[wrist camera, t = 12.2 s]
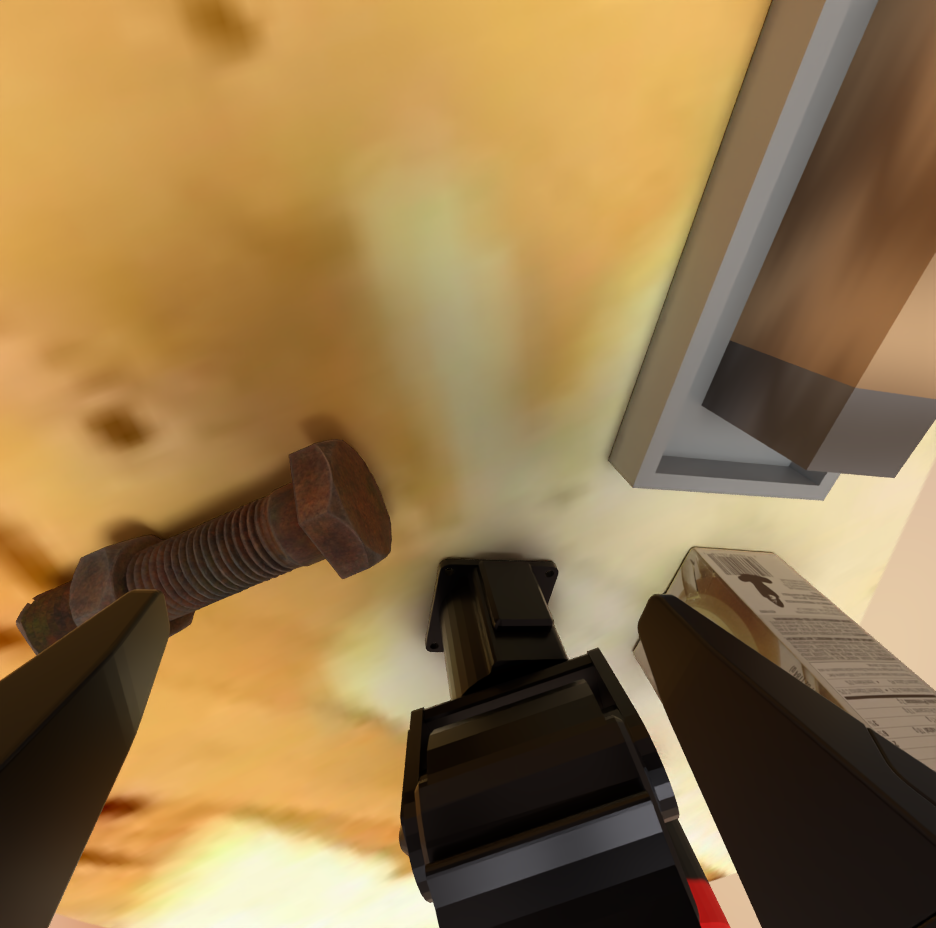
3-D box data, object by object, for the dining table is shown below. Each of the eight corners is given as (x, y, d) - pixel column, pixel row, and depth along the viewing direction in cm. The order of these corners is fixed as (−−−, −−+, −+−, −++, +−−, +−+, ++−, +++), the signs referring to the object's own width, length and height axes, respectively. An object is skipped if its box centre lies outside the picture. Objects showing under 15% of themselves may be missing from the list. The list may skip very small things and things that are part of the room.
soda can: (600, 729, 34) (695, 954, 24) (662, 749, 37) (770, 956, 27) (536, 782, 36) (597, 1009, 26) (599, 797, 40) (676, 1005, 29)
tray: (784, 475, 25) (823, 500, 22) (608, 460, 22) (632, 487, 20) (1073, -32, 15) (1184, -71, 13) (825, -149, 13) (913, -219, 11)
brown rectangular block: (880, -6, 14) (1158, -124, 9) (971, 31, 15) (1270, -59, 10) (701, 405, 21) (806, 470, 16) (772, 414, 22) (894, 477, 17)
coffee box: (709, 653, 32) (963, 996, 18) (629, 651, 30) (839, 1028, 16) (778, 549, 28) (1177, 892, 14) (689, 542, 26) (1039, 920, 12)
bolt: (87, 559, 22) (361, 439, 21) (128, 653, 22) (404, 539, 21) (-58, 600, 17) (308, 437, 15) (-2, 726, 17) (367, 575, 15)
